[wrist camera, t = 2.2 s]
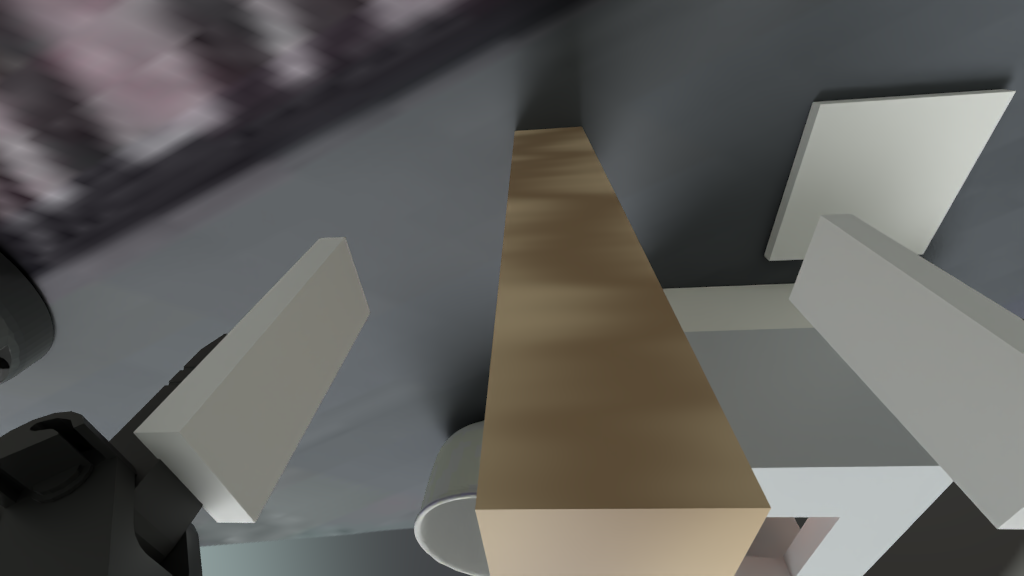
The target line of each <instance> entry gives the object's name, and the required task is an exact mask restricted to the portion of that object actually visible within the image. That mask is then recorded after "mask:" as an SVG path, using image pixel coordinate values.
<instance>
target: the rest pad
mask: <svg viewBox="0 0 1024 576" xmlns="http://www.w3.org/2000/svg"><path fill="white" fill-rule="evenodd" d="M1015 92H1016V91H1011V90H1004V89H997V90H982V91H968V92H953V93H938V94H924V95H909V96H894V97H879V98H865V99H850V100H835V101H820V102H813V103H812V106H811V109H810V112H809V115H808V119H807V122H806V125H805V128H804V131H803V134H802V137H801V141H800V144H799V147H798V150H797V153H796V156H795V159H794V163H793V166H792V169H791V172H790V175H789V178H788V182H787V185H786V188H785V191H784V194H783V197H782V200H781V204H780V207H779V210H778V213H777V216H776V219H775V222H774V226H773V229H772V232H771V235H770V238H769V241H768V244H767V248H766V251H765V254H764V256H765V257H766V258H767V259H768V260H769V261H780V260H803V259H804V258H805V255H806V253H807V250H808V247H809V245H810V242H811V239H812V237H813V234H814V232H815V229H816V226H817V224H818V221H819V219H820V216H821V215H836V214H852V215H854V216H856V217H857V218H859V219H860V220H862V221H864V222H865V223H867V224H869V225H870V226H872V227H873V228H875V229H877V230H878V231H880V232H881V233H883V234H885V235H886V236H888V237H890V238H891V239H893V240H894V241H896V242H898V243H899V244H901V245H903V246H904V247H906V248H907V249H909V250H911V251H912V252H914V253H916V254H924V252H925V250H926V248H927V247H928V245H929V243H930V241H931V240H932V238H933V236H934V234H935V233H936V231H937V229H938V227H939V226H940V224H941V222H942V220H943V218H944V217H945V215H946V213H947V211H948V210H949V208H950V206H951V204H952V203H953V201H954V199H955V197H956V196H957V194H958V192H959V190H960V189H961V187H962V185H963V183H964V182H965V180H966V178H967V176H968V174H969V173H970V171H971V169H972V167H973V166H974V164H975V162H976V160H977V159H978V157H979V155H980V153H981V152H982V150H983V148H984V146H985V145H986V143H987V141H988V139H989V138H990V136H991V134H992V132H993V130H994V129H995V127H996V125H997V123H998V122H999V120H1000V118H1001V116H1002V115H1003V113H1004V111H1005V109H1006V108H1007V106H1008V104H1009V102H1010V101H1011V99H1012V97H1013V95H1014V94H1015Z"/></svg>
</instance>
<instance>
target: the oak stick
mask: <svg viewBox="0 0 1024 576" xmlns="http://www.w3.org/2000/svg"><path fill="white" fill-rule="evenodd" d="M770 509H771V507H770V505H769V503H768V501H767V499H766V496H765V494H764V492H763V490H762V488H761V486H760V484H759V482H758V480H757V478H756V476H755V474H754V472H753V470H752V468H751V466H750V464H749V462H748V460H747V458H746V456H745V454H744V452H743V450H742V448H741V446H740V444H739V442H738V440H737V438H736V436H735V434H734V432H733V430H732V428H731V426H730V424H729V422H728V420H727V418H726V416H725V414H724V412H723V410H722V408H721V406H720V404H719V402H718V400H717V398H716V396H715V394H714V392H713V390H712V388H711V386H710V384H709V382H708V380H707V378H706V376H705V374H704V372H703V370H702V368H701V366H700V364H699V362H698V360H697V358H696V355H695V353H694V351H693V349H692V347H691V345H690V343H689V341H688V339H687V337H686V335H685V333H684V331H683V329H682V327H681V325H680V323H679V321H678V319H677V317H676V315H675V313H674V311H673V309H672V307H671V305H670V303H669V301H668V299H667V297H666V295H665V293H664V291H663V289H662V287H661V285H660V283H659V281H658V279H657V277H656V275H655V273H654V271H653V269H652V267H651V265H650V263H649V261H648V259H647V257H646V255H645V253H644V251H643V249H642V247H641V245H640V243H639V241H638V239H637V237H636V235H635V233H634V231H633V229H632V227H631V225H630V223H629V221H628V219H627V217H626V214H625V212H624V210H623V208H622V206H621V204H620V202H619V200H618V198H617V196H616V194H615V192H614V190H613V188H612V186H611V184H610V182H609V180H608V178H607V176H606V174H605V172H604V170H603V168H602V166H601V164H600V162H599V160H598V158H597V156H596V154H595V152H594V150H593V148H592V146H591V144H590V142H589V140H588V138H587V136H586V134H585V132H584V130H583V128H582V127H567V128H552V129H537V130H522V131H515V135H514V145H513V154H512V164H511V173H510V183H509V192H508V202H507V211H506V221H505V230H504V240H503V249H502V259H501V268H500V278H499V287H498V297H497V306H496V316H495V325H494V335H493V344H492V354H491V363H490V373H489V382H488V392H487V401H486V411H485V420H484V430H483V439H482V449H481V458H480V468H479V477H478V487H477V496H476V506H475V511H476V516H477V520H478V524H479V529H480V533H481V537H482V542H483V546H484V550H485V554H486V559H487V563H488V567H489V572H490V576H734V575H735V573H736V571H737V570H738V568H739V566H740V564H741V562H742V561H743V559H744V557H745V555H746V553H747V551H748V550H749V548H750V546H751V544H752V542H753V540H754V539H755V537H756V535H757V533H758V531H759V530H760V528H761V526H762V524H763V522H764V520H765V519H766V517H767V515H768V513H769V511H770Z"/></svg>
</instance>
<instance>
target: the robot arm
mask: <svg viewBox="0 0 1024 576" xmlns="http://www.w3.org/2000/svg"><path fill="white" fill-rule="evenodd" d="M789 300H790V301H791V302H792V304H793V305H794V306H795V307H796V308H797V309H798V310H799V311H800V312H801V313H802V315H803V316H804V317H805V318H806V319H807V320H808V321H809V322H810V323H811V325H812V326H813V327H814V328H815V329H816V330H817V331H818V332H819V333H820V334H821V336H822V337H823V338H824V339H825V340H826V341H827V342H828V343H829V344H830V345H831V347H832V348H833V349H834V350H835V351H836V352H837V353H838V354H839V355H840V356H841V358H842V359H843V360H844V361H845V362H846V363H847V364H848V365H849V366H850V367H851V369H852V370H853V371H854V372H855V373H856V374H857V375H858V376H859V377H860V378H861V380H862V381H863V382H864V383H865V384H866V385H867V386H868V387H869V388H870V389H871V391H872V392H873V393H874V394H875V395H876V396H877V397H878V398H879V399H880V400H881V402H882V403H883V404H884V405H885V406H886V407H887V408H888V409H889V410H890V411H891V413H892V414H893V415H894V416H895V417H896V418H897V419H898V420H899V421H900V422H901V424H902V425H903V426H904V427H905V428H906V429H907V430H908V431H909V432H910V433H911V435H912V436H913V437H914V438H915V439H916V440H917V441H918V442H919V443H920V444H921V446H922V447H923V448H924V449H925V450H926V451H927V452H928V453H929V454H930V455H931V457H932V458H933V459H934V460H935V461H936V462H937V463H938V464H939V465H940V467H941V468H942V469H943V470H944V471H945V472H946V473H947V474H948V475H949V476H950V478H951V479H952V480H953V481H954V482H955V483H956V484H957V485H958V486H959V487H960V489H961V490H962V491H963V492H964V493H965V494H966V495H967V496H968V497H969V498H970V500H971V501H972V502H973V503H974V504H975V505H976V506H977V507H978V508H979V509H980V510H981V512H982V513H983V514H984V515H985V516H986V517H987V518H988V519H989V520H990V522H991V523H992V524H993V525H994V526H995V527H996V528H997V529H1024V319H1021V318H1019V317H1018V316H1016V315H1014V314H1013V313H1011V312H1010V311H1008V310H1006V309H1005V308H1003V307H1001V306H1000V305H998V304H997V303H995V302H993V301H992V300H990V299H988V298H987V297H985V296H984V295H982V294H980V293H979V292H977V291H975V290H974V289H972V288H971V287H969V286H967V285H966V284H964V283H963V282H961V281H959V280H958V279H956V278H954V277H953V276H951V275H950V274H948V273H946V272H945V271H943V270H941V269H940V268H938V267H937V266H935V265H933V264H932V263H930V262H928V261H927V260H925V259H924V258H922V257H920V256H919V255H917V254H916V253H914V252H912V251H911V250H909V249H907V248H906V247H904V246H903V245H901V244H899V243H898V242H896V241H894V240H893V239H891V238H890V237H888V236H886V235H885V234H883V233H881V232H880V231H878V230H877V229H875V228H873V227H872V226H870V225H869V224H867V223H865V222H864V221H862V220H860V219H859V218H857V217H856V216H854V215H852V214H836V215H821V216H820V219H819V221H818V224H817V226H816V229H815V232H814V234H813V237H812V239H811V242H810V245H809V247H808V250H807V253H806V255H805V258H804V260H803V263H802V266H801V268H800V271H799V274H798V276H797V279H796V281H795V284H794V287H793V289H792V292H791V295H790V297H789ZM369 314H370V310H369V307H368V304H367V301H366V298H365V295H364V292H363V289H362V286H361V283H360V280H359V277H358V274H357V271H356V268H355V265H354V262H353V259H352V256H351V253H350V250H349V247H348V244H347V241H346V238H345V237H337V238H320V239H319V240H318V241H317V242H316V243H315V244H314V245H313V246H312V247H311V248H310V249H309V250H308V251H307V252H306V253H305V254H304V255H303V256H302V257H301V258H300V259H299V260H298V261H297V263H296V264H295V265H294V266H293V267H292V268H291V269H290V270H289V271H288V272H287V273H286V274H285V275H284V276H283V277H282V278H281V279H280V280H279V281H278V282H277V283H276V284H275V285H274V286H273V288H272V289H271V290H270V291H269V292H268V293H267V294H266V295H265V296H264V297H263V298H262V299H261V300H260V301H259V302H258V303H257V304H256V305H255V306H254V307H253V308H252V309H251V310H250V311H249V313H248V314H247V315H246V316H245V317H244V318H243V319H242V320H241V321H240V322H239V323H238V324H237V325H236V326H235V327H234V328H233V329H232V330H231V331H230V332H229V333H228V334H224V335H222V336H221V337H219V338H218V339H216V340H215V341H213V342H212V343H210V344H209V345H207V346H205V347H204V348H202V349H201V350H200V351H199V352H198V353H197V354H196V355H195V356H194V357H193V358H192V359H191V360H190V361H189V362H188V363H187V364H186V365H185V366H184V370H180V371H179V372H178V373H177V374H176V375H175V376H174V377H173V378H172V379H171V380H170V381H169V385H166V386H164V387H163V388H162V389H161V390H160V391H159V392H158V393H157V394H156V395H155V396H154V397H153V398H152V399H151V400H150V401H149V402H148V403H147V404H146V405H145V406H144V407H143V408H142V409H141V410H140V411H139V412H138V413H137V414H136V415H135V416H134V417H133V418H132V419H131V420H130V421H129V422H128V423H127V424H126V425H125V426H124V427H123V428H122V429H121V430H120V431H119V432H118V433H117V434H116V435H115V436H114V437H113V438H112V439H111V440H110V441H108V440H107V439H106V438H105V437H104V436H103V435H101V434H100V433H99V432H98V431H97V430H96V429H95V428H94V427H93V426H92V425H91V424H90V423H89V422H88V421H87V420H86V419H85V418H84V417H83V416H82V415H81V414H78V413H75V412H72V411H70V412H60V413H53V414H50V415H47V416H44V417H41V418H38V419H35V420H32V421H30V422H28V423H26V424H24V425H22V426H20V427H18V428H15V429H13V430H11V431H10V432H8V433H6V434H5V435H3V436H2V437H0V576H202V567H201V557H200V547H199V537H198V533H197V531H196V529H195V527H194V525H193V524H191V522H192V521H193V519H194V518H195V516H196V515H197V513H198V512H199V510H200V509H201V507H203V508H204V509H205V510H206V511H207V512H208V513H209V514H210V515H211V516H212V517H213V518H214V519H215V520H216V522H217V523H255V522H256V520H257V518H258V517H259V515H260V513H261V511H262V509H263V507H264V506H265V504H266V502H267V500H268V498H269V497H270V495H271V493H272V491H273V489H274V487H275V486H276V484H277V482H278V480H279V478H280V476H281V475H282V473H283V471H284V469H285V467H286V466H287V464H288V462H289V460H290V458H291V456H292V455H293V453H294V451H295V449H296V447H297V445H298V444H299V442H300V440H301V438H302V436H303V434H304V433H305V431H306V429H307V427H308V425H309V424H310V422H311V420H312V418H313V416H314V414H315V413H316V411H317V409H318V407H319V405H320V403H321V402H322V400H323V398H324V396H325V394H326V393H327V391H328V389H329V387H330V385H331V383H332V382H333V380H334V378H335V376H336V374H337V372H338V371H339V369H340V367H341V365H342V363H343V361H344V360H345V358H346V356H347V354H348V352H349V351H350V349H351V347H352V345H353V343H354V341H355V340H356V338H357V336H358V334H359V332H360V330H361V329H362V327H363V325H364V323H365V321H366V320H367V318H368V316H369ZM53 336H54V331H53V324H52V320H51V317H50V314H49V312H48V310H47V308H46V306H45V304H44V302H43V300H42V299H41V297H40V296H39V294H38V293H37V291H36V290H35V288H34V287H33V286H32V284H31V283H30V282H29V281H28V280H27V278H26V277H25V276H24V275H23V274H22V273H21V272H20V271H19V270H18V268H17V267H16V266H15V265H14V264H13V263H12V262H10V261H9V260H8V259H7V258H6V257H5V256H4V255H3V254H2V253H1V252H0V384H2V383H4V382H6V381H8V380H10V379H11V378H13V377H15V376H16V375H18V374H19V373H21V372H22V371H23V370H25V369H26V368H28V367H29V366H31V365H32V364H33V363H35V362H36V361H38V360H39V359H41V358H42V357H43V356H44V355H45V354H46V353H47V352H48V351H49V349H50V347H51V345H52V342H53Z"/></svg>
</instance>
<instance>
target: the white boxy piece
mask: <svg viewBox="0 0 1024 576" xmlns="http://www.w3.org/2000/svg"><path fill="white" fill-rule="evenodd" d="M794 284H795V283H794ZM794 284H769V285H744V286H719V287H694V288H669V289H663V291H664V293H665V295H666V297H667V299H668V301H669V303H670V305H671V307H672V309H673V311H674V313H675V315H676V317H677V319H678V321H679V323H680V325H681V327H682V329H683V331H684V333H685V335H686V337H687V339H688V341H689V343H690V345H691V347H692V349H693V351H694V353H695V355H696V358H697V360H698V362H699V364H700V366H701V368H702V370H703V372H704V374H705V376H706V378H707V380H708V382H709V384H710V386H711V388H712V390H713V392H714V394H715V396H716V398H717V400H718V402H719V404H720V406H721V408H722V410H723V412H724V414H725V416H726V418H727V420H728V422H729V424H730V426H731V428H732V430H733V432H734V434H735V436H736V438H737V440H738V442H739V444H740V446H741V448H742V450H743V452H744V454H745V456H746V458H747V460H748V462H749V464H750V466H751V468H752V470H753V472H754V474H755V476H756V478H757V480H758V482H759V484H760V486H761V488H762V490H763V492H764V494H765V496H766V499H767V501H768V503H769V505H770V507H771V509H770V511H769V513H768V515H767V517H766V519H765V520H764V522H763V524H762V526H761V528H760V530H759V531H758V533H757V535H756V537H755V539H754V540H753V542H752V544H751V546H750V548H749V550H748V551H747V553H746V555H745V557H744V559H743V561H742V562H741V564H740V566H739V568H738V570H737V571H736V573H735V575H734V576H863V575H864V574H865V573H866V572H867V571H868V570H869V568H870V567H871V566H872V565H873V564H874V563H875V562H876V561H877V560H878V559H879V558H880V557H881V556H882V555H883V554H884V553H885V552H886V551H887V550H888V549H889V548H890V547H891V546H892V545H893V543H894V542H895V541H896V540H897V539H898V538H899V537H900V536H901V535H902V534H903V533H904V532H905V531H906V530H907V529H908V528H909V527H910V526H911V524H913V523H914V522H915V520H917V518H918V517H919V516H920V515H921V514H922V513H923V512H924V511H925V510H926V509H927V508H928V507H929V506H930V505H931V504H932V503H933V502H934V501H935V499H937V498H938V497H939V496H940V494H941V493H942V492H943V491H944V490H945V489H946V488H947V487H948V486H949V485H950V484H951V483H952V482H953V480H952V479H951V478H950V476H949V475H948V474H947V473H946V472H945V471H944V470H943V469H942V468H941V467H940V465H939V464H938V463H937V462H936V461H935V460H934V459H933V458H932V457H931V455H930V454H929V453H928V452H927V451H926V450H925V449H924V448H923V447H922V446H921V444H920V443H919V442H918V441H917V440H916V439H915V438H914V437H913V436H912V435H911V433H910V432H909V431H908V430H907V429H906V428H905V427H904V426H903V425H902V424H901V422H900V421H899V420H898V419H897V418H896V417H895V416H894V415H893V414H892V413H891V411H890V410H889V409H888V408H887V407H886V406H885V405H884V404H883V403H882V402H881V400H880V399H879V398H878V397H877V396H876V395H875V394H874V393H873V392H872V391H871V389H870V388H869V387H868V386H867V385H866V384H865V383H864V382H863V381H862V380H861V378H860V377H859V376H858V375H857V374H856V373H855V372H854V371H853V370H852V369H851V367H850V366H849V365H848V364H847V363H846V362H845V361H844V360H843V359H842V358H841V356H840V355H839V354H838V353H837V352H836V351H835V350H834V349H833V348H832V347H831V345H830V344H829V343H828V342H827V341H826V340H825V339H824V338H823V337H822V336H821V334H820V333H819V332H818V331H817V330H816V329H815V328H814V327H813V326H812V325H811V323H810V322H809V321H808V320H807V319H806V318H805V317H804V316H803V315H802V313H801V312H800V311H799V310H798V309H797V308H796V307H795V306H794V305H793V304H792V302H791V301H790V300H789V297H790V295H791V292H792V289H793V287H794ZM794 517H809V518H808V519H807V521H806V522H805V524H804V525H803V527H802V528H801V530H800V528H799V526H798V524H797V522H796V521H795V519H794Z"/></svg>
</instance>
